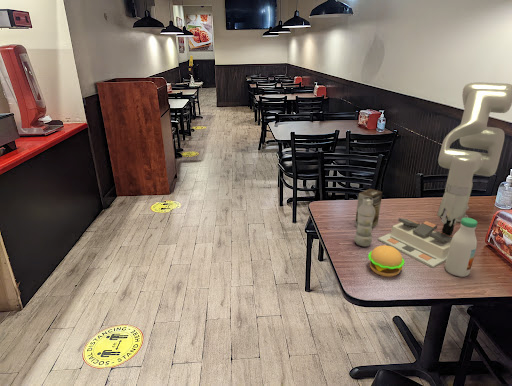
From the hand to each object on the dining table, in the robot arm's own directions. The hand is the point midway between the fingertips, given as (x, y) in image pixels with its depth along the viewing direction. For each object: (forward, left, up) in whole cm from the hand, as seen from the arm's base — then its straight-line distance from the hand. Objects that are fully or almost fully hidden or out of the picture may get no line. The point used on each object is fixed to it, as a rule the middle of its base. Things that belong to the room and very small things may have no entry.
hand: (446, 233), depth 132 cm
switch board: (+6, -7, -7) cm, 12 cm away
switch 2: (+3, 0, 0) cm, 3 cm away
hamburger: (+30, -4, -8) cm, 31 cm away
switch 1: (+3, -14, 0) cm, 14 cm away
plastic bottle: (+23, -20, -8) cm, 31 cm away
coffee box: (+9, -30, -8) cm, 32 cm away
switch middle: (+3, -7, 0) cm, 8 cm away
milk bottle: (+9, +10, -8) cm, 16 cm away
